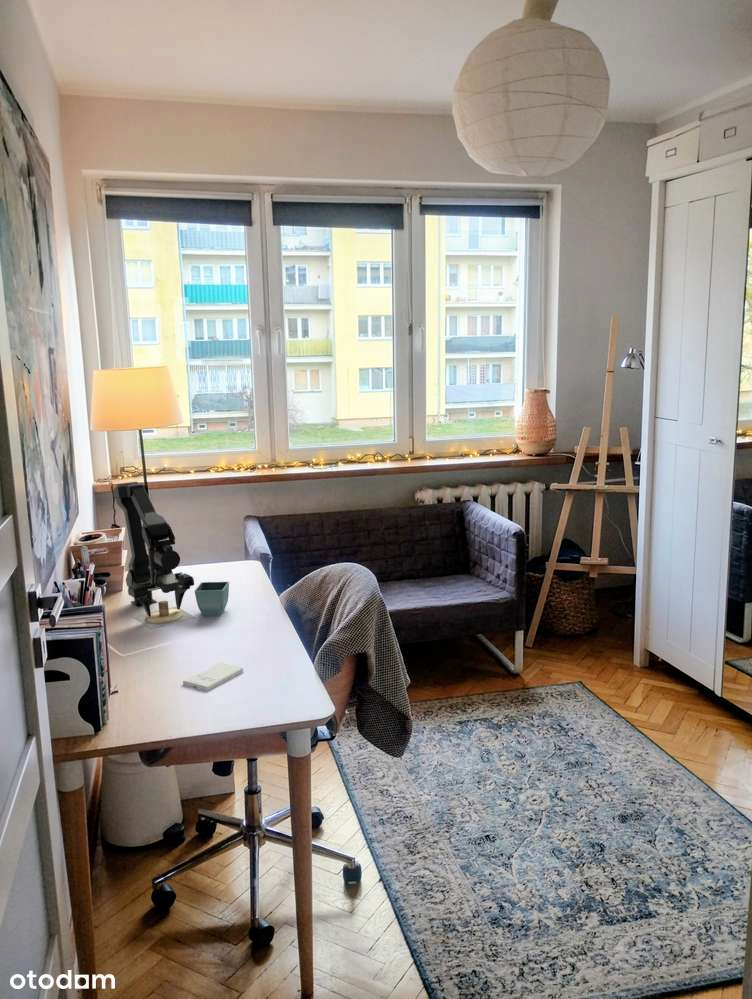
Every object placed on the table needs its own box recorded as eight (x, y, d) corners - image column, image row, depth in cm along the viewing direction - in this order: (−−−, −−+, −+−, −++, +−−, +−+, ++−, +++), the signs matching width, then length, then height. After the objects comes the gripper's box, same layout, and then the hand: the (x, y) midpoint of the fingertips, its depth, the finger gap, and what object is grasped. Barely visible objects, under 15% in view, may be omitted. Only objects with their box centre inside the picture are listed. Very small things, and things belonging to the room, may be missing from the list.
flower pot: (225, 618, 233) (223, 589, 231) (196, 619, 233) (193, 590, 231) (231, 609, 241) (229, 581, 240) (203, 609, 242) (201, 582, 240)
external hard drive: (243, 673, 193) (207, 692, 183) (219, 667, 197) (183, 686, 187) (243, 667, 193) (207, 686, 182) (218, 661, 197) (182, 679, 187)
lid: (140, 617, 236) (138, 602, 235) (174, 608, 242) (172, 594, 241) (154, 626, 227) (152, 610, 226) (189, 617, 234) (187, 602, 233)
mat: (133, 618, 236) (133, 617, 236) (176, 607, 244) (176, 606, 244) (151, 630, 225) (151, 628, 225) (196, 618, 234) (196, 617, 234)
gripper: (139, 574, 220) (144, 627, 223) (200, 561, 231) (204, 612, 234) (124, 567, 228) (130, 617, 231) (184, 555, 240) (188, 603, 242)
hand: (164, 612), depth 235 cm, fingers open, 9 cm apart
